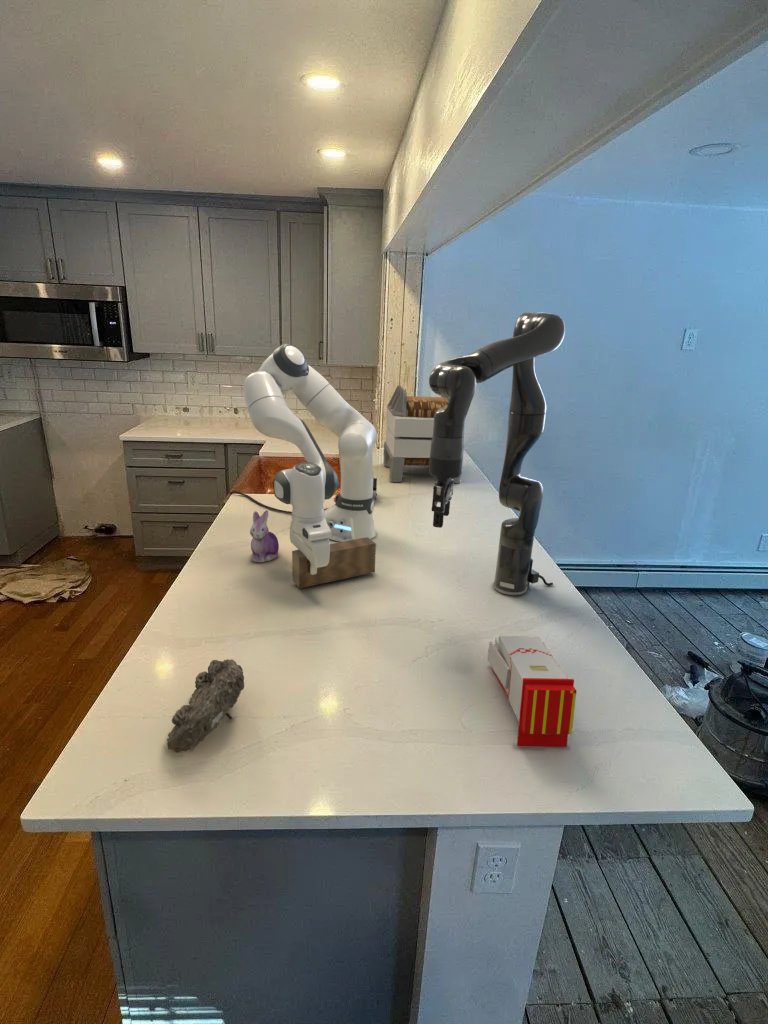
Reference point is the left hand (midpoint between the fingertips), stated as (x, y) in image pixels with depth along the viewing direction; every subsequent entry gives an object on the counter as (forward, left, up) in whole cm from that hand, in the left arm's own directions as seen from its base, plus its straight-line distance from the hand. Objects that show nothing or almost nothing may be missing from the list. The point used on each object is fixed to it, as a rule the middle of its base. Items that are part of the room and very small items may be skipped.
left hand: (308, 568), depth 159 cm
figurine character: (-7, +79, -5) cm, 80 cm away
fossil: (+4, -57, -5) cm, 57 cm away
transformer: (+4, +127, -5) cm, 127 cm away
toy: (+61, -32, -5) cm, 69 cm away
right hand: (+38, -8, +23) cm, 45 cm away
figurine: (-20, +12, -5) cm, 24 cm away
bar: (+6, +6, -4) cm, 9 cm away
